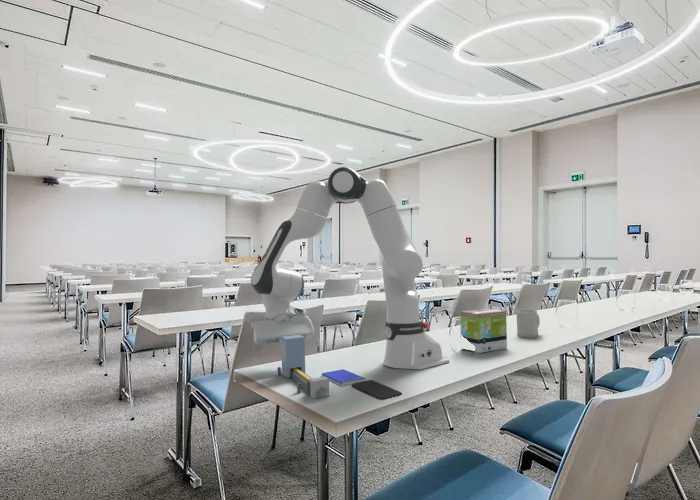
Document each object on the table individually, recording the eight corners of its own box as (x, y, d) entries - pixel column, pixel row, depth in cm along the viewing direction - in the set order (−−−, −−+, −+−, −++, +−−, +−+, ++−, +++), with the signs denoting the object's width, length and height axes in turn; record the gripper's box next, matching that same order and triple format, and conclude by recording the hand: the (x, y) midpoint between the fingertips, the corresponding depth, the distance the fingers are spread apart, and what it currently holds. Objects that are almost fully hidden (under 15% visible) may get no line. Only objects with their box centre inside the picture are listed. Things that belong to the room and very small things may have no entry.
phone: (380, 399, 104) (349, 384, 116) (380, 402, 104) (349, 387, 116) (403, 393, 108) (371, 379, 120) (404, 396, 108) (371, 382, 120)
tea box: (480, 354, 150) (479, 313, 151) (460, 349, 159) (458, 311, 159) (508, 348, 158) (506, 309, 158) (487, 344, 166) (486, 307, 167)
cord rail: (302, 370, 135) (302, 357, 135) (336, 394, 109) (335, 377, 109) (277, 374, 131) (276, 360, 131) (306, 399, 106) (305, 382, 106)
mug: (529, 338, 176) (528, 312, 176) (513, 335, 184) (512, 310, 184) (547, 335, 182) (546, 310, 182) (530, 332, 189) (529, 308, 190)
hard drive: (365, 377, 121) (344, 368, 132) (341, 382, 117) (321, 372, 127) (365, 382, 121) (344, 373, 132) (341, 387, 117) (321, 378, 127)
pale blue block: (300, 371, 133) (299, 334, 133) (305, 375, 128) (304, 337, 128) (282, 374, 130) (281, 336, 130) (286, 378, 126) (285, 339, 126)
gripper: (251, 314, 136) (258, 349, 127) (309, 309, 145) (320, 341, 136) (248, 326, 140) (255, 360, 131) (306, 320, 149) (316, 352, 140)
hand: (289, 351), depth 133 cm, fingers closed
